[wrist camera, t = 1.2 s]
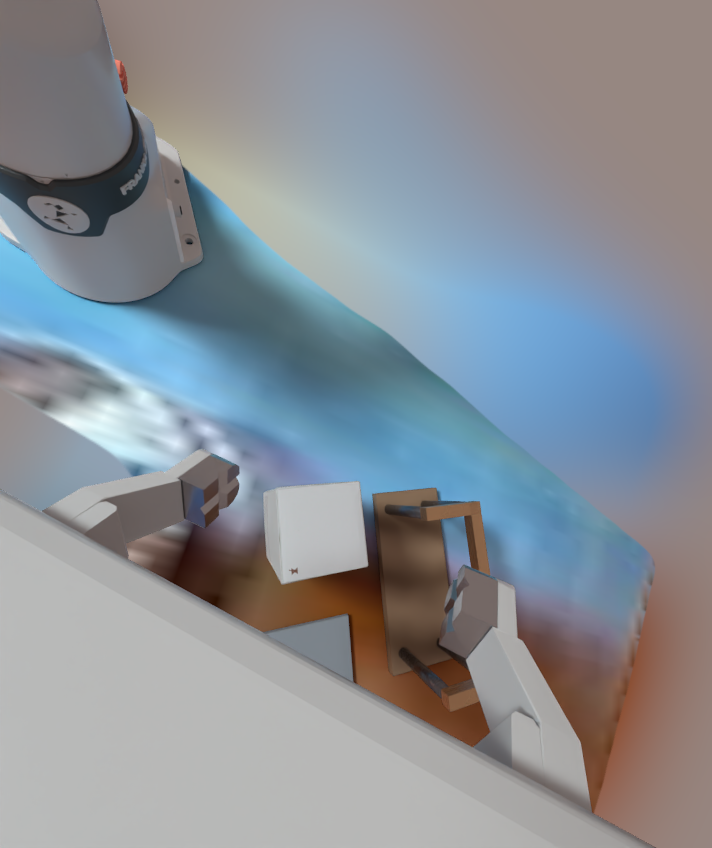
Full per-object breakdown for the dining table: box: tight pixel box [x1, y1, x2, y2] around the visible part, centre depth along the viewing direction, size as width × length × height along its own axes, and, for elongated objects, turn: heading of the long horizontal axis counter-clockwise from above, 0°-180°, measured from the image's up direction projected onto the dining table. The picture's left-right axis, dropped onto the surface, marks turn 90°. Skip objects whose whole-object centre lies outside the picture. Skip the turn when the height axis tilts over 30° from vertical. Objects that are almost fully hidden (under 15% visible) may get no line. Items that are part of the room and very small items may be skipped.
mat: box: [263, 614, 353, 682], centre depth 36 cm, size 10×10×1 cm
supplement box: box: [263, 481, 368, 584], centre depth 33 cm, size 7×7×13 cm
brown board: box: [372, 488, 452, 676], centre depth 42 cm, size 20×8×1 cm, turn 5°
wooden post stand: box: [384, 500, 490, 712], centre depth 37 cm, size 17×6×10 cm, turn 5°
